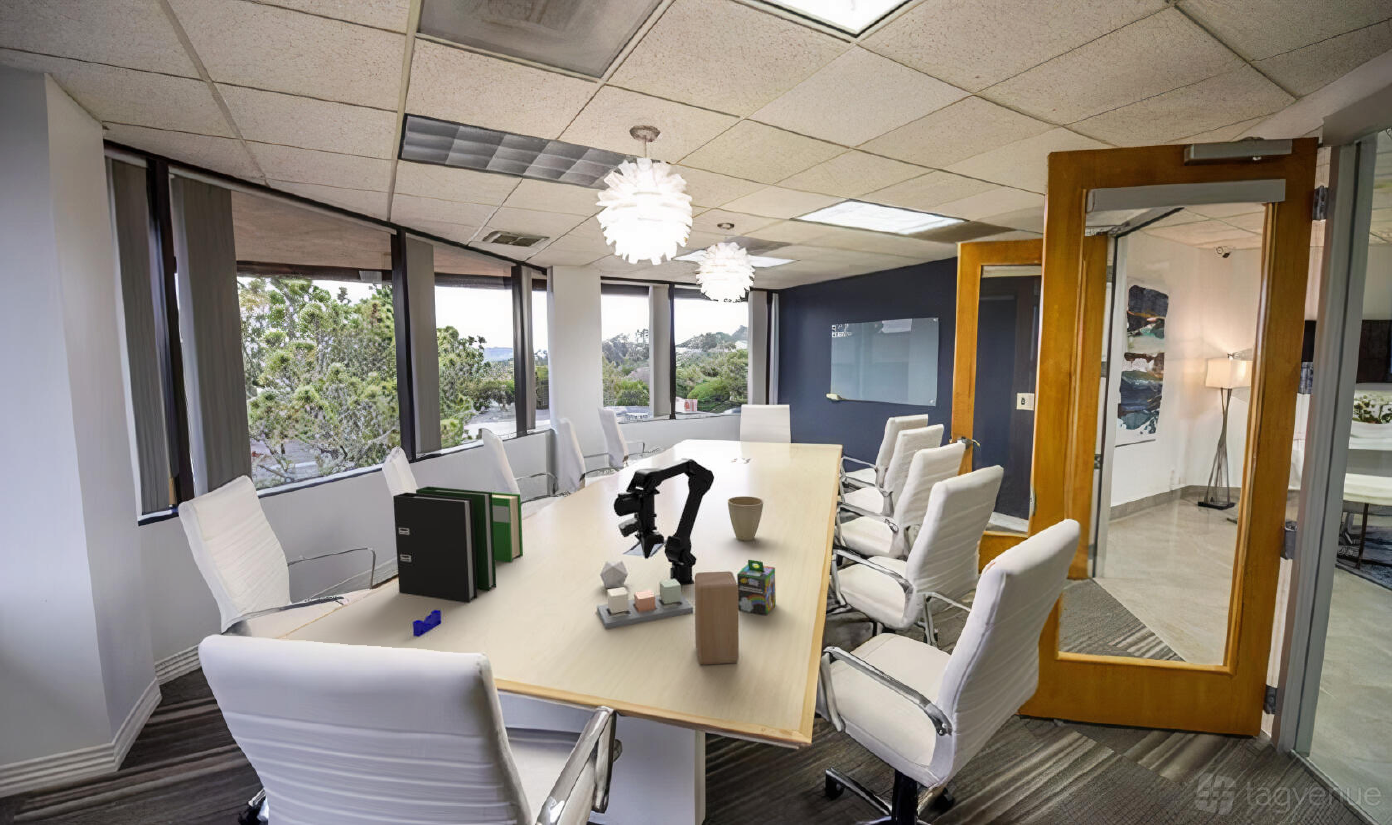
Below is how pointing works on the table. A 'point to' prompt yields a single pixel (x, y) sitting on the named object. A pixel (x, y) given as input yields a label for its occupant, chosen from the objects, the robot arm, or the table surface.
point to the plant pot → (745, 516)
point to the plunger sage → (670, 591)
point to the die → (614, 574)
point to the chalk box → (756, 588)
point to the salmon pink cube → (644, 601)
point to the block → (716, 618)
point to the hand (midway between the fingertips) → (646, 558)
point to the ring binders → (445, 543)
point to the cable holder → (427, 623)
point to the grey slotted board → (643, 613)
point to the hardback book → (507, 526)
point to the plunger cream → (618, 600)
